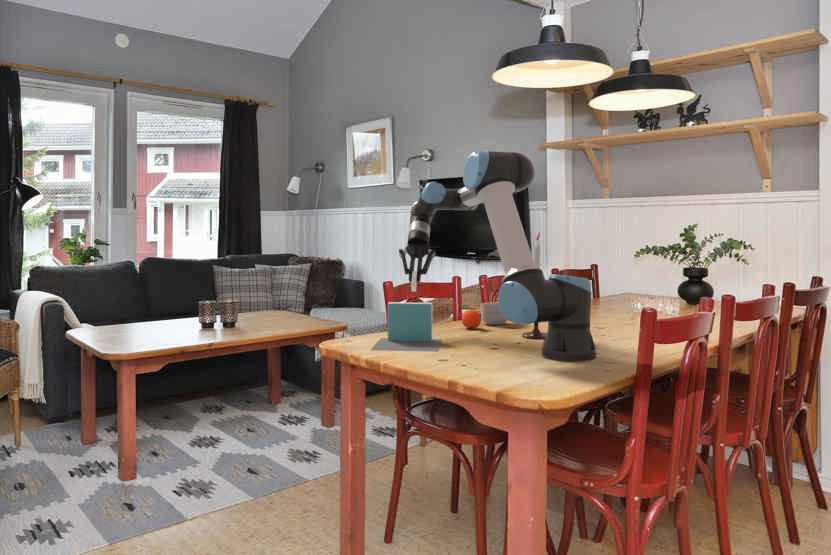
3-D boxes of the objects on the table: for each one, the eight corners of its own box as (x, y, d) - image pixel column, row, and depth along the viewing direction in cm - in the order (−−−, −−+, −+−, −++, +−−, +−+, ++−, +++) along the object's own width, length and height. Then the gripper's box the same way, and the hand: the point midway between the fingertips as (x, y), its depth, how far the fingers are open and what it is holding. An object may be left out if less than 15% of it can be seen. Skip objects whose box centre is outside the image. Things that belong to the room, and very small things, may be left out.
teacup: (485, 326, 239) (485, 305, 239) (476, 322, 250) (476, 301, 249) (521, 325, 242) (521, 304, 241) (511, 321, 253) (511, 300, 252)
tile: (389, 339, 211) (388, 302, 210) (432, 340, 210) (432, 302, 209) (387, 340, 209) (387, 303, 207) (431, 341, 207) (431, 303, 206)
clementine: (457, 329, 233) (457, 310, 232) (460, 326, 239) (460, 307, 239) (479, 330, 231) (479, 310, 230) (482, 327, 237) (482, 308, 237)
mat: (380, 339, 214) (380, 337, 214) (442, 340, 212) (442, 338, 212) (370, 351, 194) (370, 349, 194) (437, 353, 192) (437, 351, 192)
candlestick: (550, 334, 223) (552, 231, 220) (554, 340, 213) (556, 231, 210) (518, 333, 224) (519, 231, 221) (520, 339, 214) (521, 231, 211)
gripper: (437, 244, 234) (433, 296, 219) (401, 244, 236) (395, 295, 221) (436, 229, 228) (432, 281, 213) (399, 229, 230) (392, 281, 215)
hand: (413, 288), depth 217 cm, fingers closed
